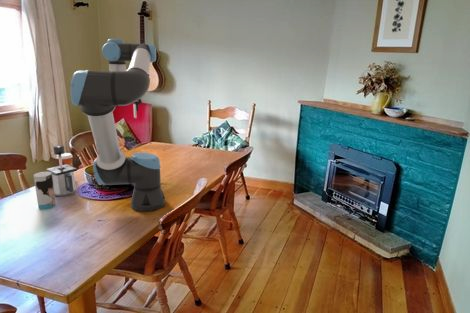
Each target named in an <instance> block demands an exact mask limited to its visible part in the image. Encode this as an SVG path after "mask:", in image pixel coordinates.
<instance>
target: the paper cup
mask: <svg viewBox="0 0 470 313" xmlns="http://www.w3.org/2000/svg"><path fill="white" fill-rule="evenodd" d="M61 158H62V165H66V164H67V165H70V166H72V167H74V166H73V154H72V153H71V152H65V153H64V154H61ZM56 159H57V166H60V165H59V157H58V155H56Z"/></svg>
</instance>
